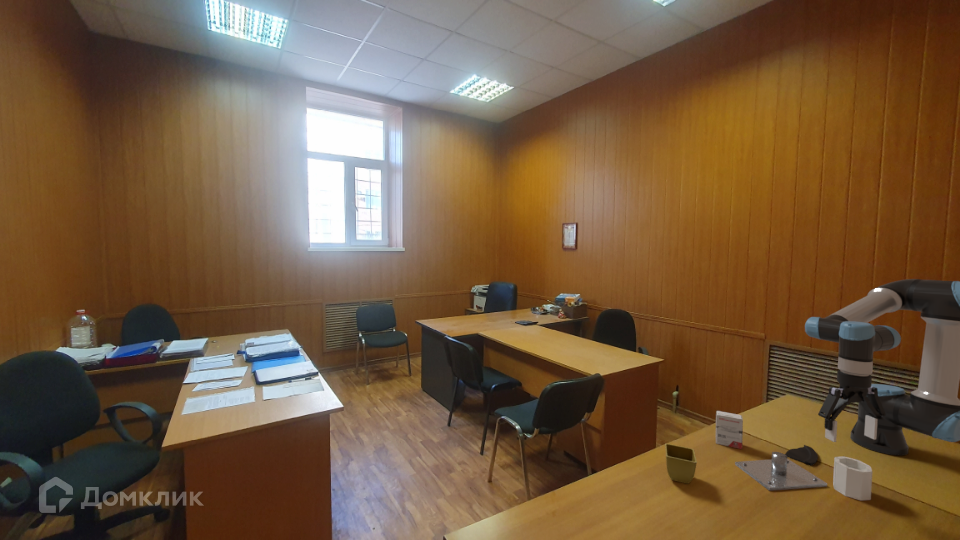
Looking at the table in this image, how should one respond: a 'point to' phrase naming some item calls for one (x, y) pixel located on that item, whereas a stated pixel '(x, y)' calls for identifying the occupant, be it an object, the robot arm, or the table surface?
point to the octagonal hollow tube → (852, 478)
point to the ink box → (729, 429)
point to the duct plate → (780, 481)
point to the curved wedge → (803, 455)
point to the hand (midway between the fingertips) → (850, 438)
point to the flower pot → (680, 463)
